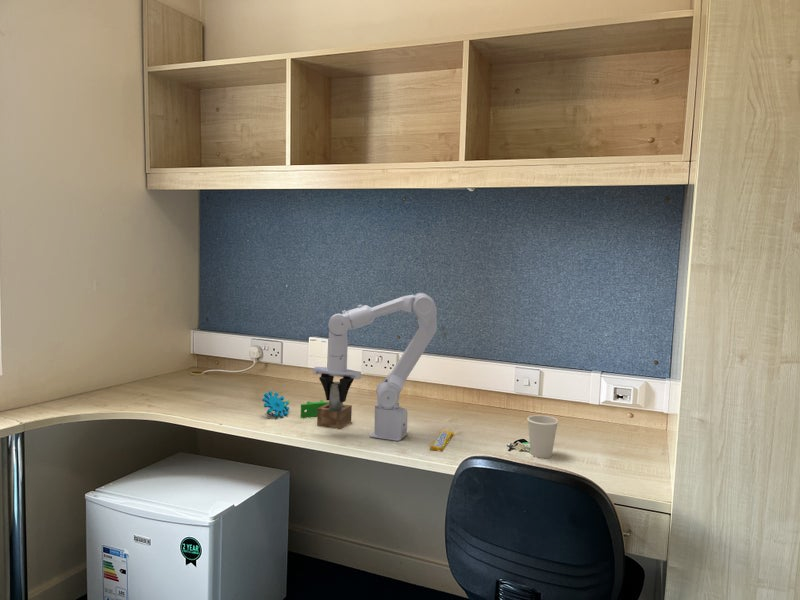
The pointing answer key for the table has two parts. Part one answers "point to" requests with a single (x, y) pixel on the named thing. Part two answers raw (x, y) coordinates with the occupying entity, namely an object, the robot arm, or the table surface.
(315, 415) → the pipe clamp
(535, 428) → the dixie cup
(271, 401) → the gear
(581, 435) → the table surface
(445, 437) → the candy bar
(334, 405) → the peg
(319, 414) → the socket
